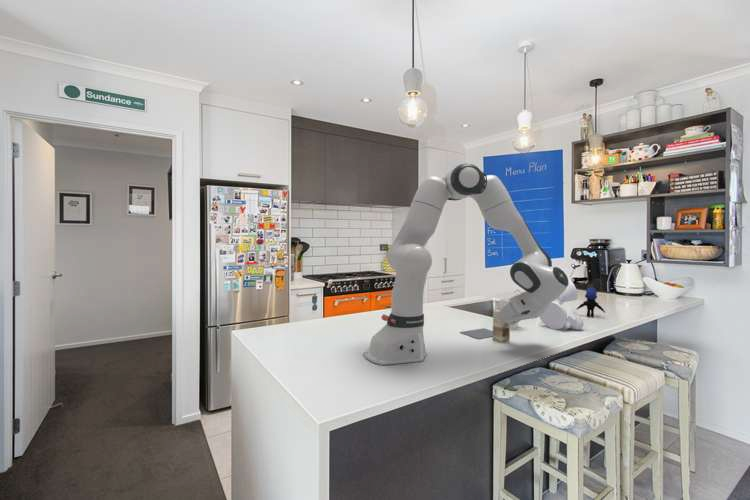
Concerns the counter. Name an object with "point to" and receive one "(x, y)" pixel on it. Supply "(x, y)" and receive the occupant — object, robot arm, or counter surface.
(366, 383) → the counter surface
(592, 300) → the toy
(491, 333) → the mat
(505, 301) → the foam cup
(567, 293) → the light fixture
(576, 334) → the counter surface
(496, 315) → the block
